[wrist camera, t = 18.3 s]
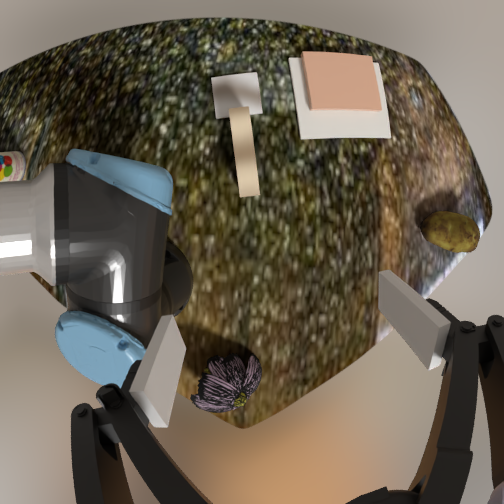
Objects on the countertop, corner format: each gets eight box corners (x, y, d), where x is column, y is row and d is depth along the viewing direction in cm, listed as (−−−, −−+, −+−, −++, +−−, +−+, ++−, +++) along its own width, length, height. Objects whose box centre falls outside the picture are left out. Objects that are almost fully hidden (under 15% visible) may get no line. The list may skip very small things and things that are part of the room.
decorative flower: (254, 430, 46) (185, 425, 39) (233, 398, 56) (172, 388, 50) (287, 375, 46) (215, 363, 39) (260, 347, 56) (197, 331, 50)
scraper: (271, 188, 41) (276, 192, 35) (226, 194, 41) (223, 199, 35) (256, 73, 35) (258, 58, 29) (211, 78, 35) (206, 65, 29)
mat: (300, 139, 39) (301, 139, 38) (288, 59, 35) (288, 57, 34) (389, 138, 39) (391, 138, 38) (376, 64, 34) (378, 63, 34)
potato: (428, 193, 42) (454, 200, 34) (464, 219, 44) (489, 229, 36) (412, 233, 44) (437, 245, 37) (450, 255, 46) (473, 268, 38)
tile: (312, 108, 35) (302, 51, 32) (310, 110, 37) (300, 54, 34) (382, 110, 35) (371, 56, 32) (377, 111, 37) (367, 59, 34)
